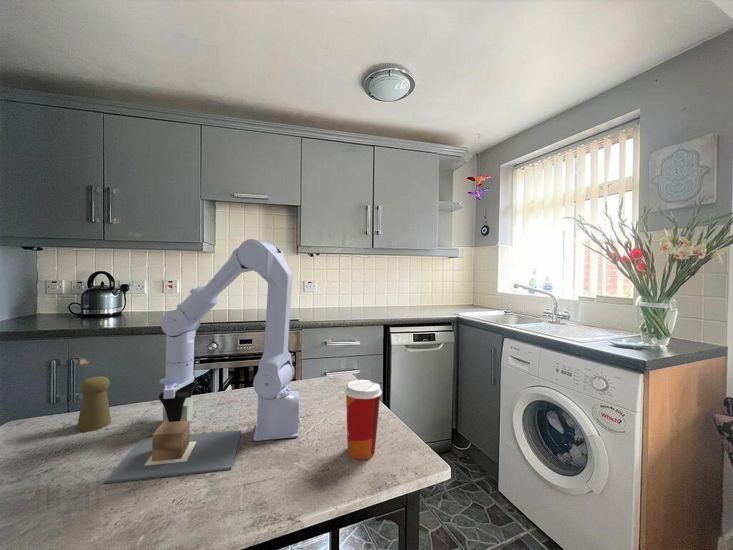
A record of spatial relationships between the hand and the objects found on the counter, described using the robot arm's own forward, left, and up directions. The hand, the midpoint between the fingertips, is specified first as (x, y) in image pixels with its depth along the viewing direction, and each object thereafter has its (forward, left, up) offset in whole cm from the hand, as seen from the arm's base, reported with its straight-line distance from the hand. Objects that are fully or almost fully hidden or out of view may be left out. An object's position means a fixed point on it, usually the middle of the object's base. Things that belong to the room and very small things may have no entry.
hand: (178, 417), depth 76 cm
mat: (-5, +14, -1) cm, 15 cm away
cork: (+18, -2, -2) cm, 18 cm away
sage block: (0, 0, -1) cm, 1 cm away
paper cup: (-40, +20, -2) cm, 45 cm away
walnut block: (-3, +14, -1) cm, 14 cm away
